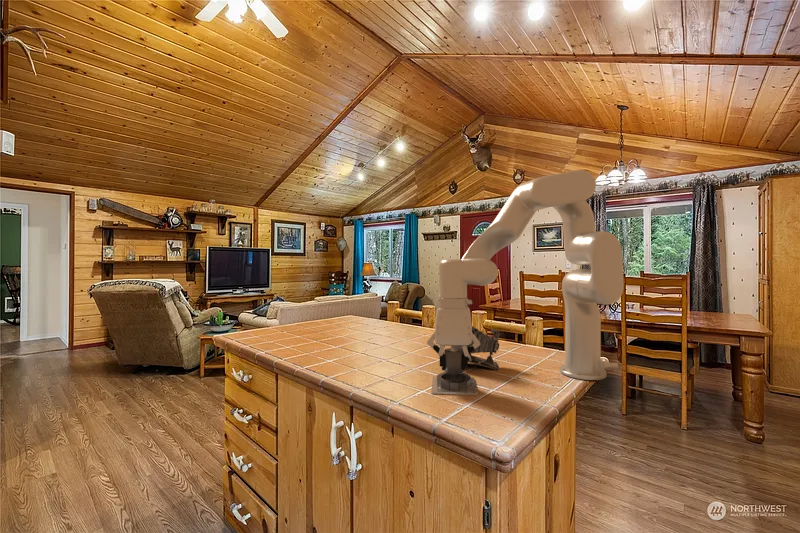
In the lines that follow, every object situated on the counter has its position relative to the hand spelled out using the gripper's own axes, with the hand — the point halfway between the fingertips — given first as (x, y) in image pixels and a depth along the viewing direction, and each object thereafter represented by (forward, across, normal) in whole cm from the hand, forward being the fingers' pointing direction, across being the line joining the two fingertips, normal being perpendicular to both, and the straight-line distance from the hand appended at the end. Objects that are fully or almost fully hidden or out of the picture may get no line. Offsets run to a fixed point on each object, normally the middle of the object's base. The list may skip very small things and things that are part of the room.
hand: (453, 368), depth 99 cm
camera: (+5, -7, -20) cm, 22 cm away
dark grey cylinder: (+1, 0, 0) cm, 1 cm away
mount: (+5, 0, 0) cm, 5 cm away
